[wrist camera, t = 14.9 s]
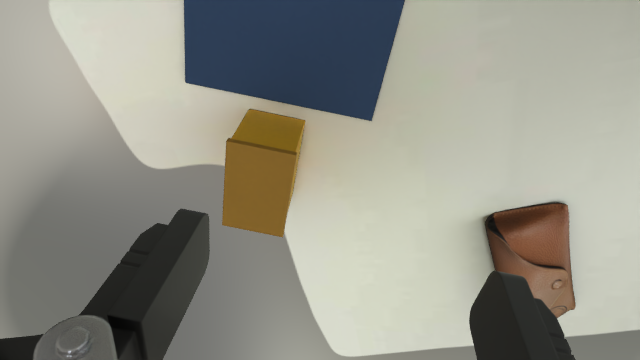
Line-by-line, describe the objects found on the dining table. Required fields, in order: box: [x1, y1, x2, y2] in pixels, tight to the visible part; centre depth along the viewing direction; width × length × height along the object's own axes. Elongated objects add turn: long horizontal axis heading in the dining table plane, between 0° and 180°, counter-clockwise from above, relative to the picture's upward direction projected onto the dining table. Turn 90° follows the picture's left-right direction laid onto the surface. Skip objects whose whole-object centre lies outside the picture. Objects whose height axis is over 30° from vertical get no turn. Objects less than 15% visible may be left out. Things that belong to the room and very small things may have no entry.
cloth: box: [184, 0, 405, 121], centre depth 34 cm, size 18×14×1 cm
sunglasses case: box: [485, 203, 575, 318], centre depth 45 cm, size 18×7×7 cm
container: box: [222, 109, 305, 237], centre depth 38 cm, size 6×9×7 cm, turn 170°
